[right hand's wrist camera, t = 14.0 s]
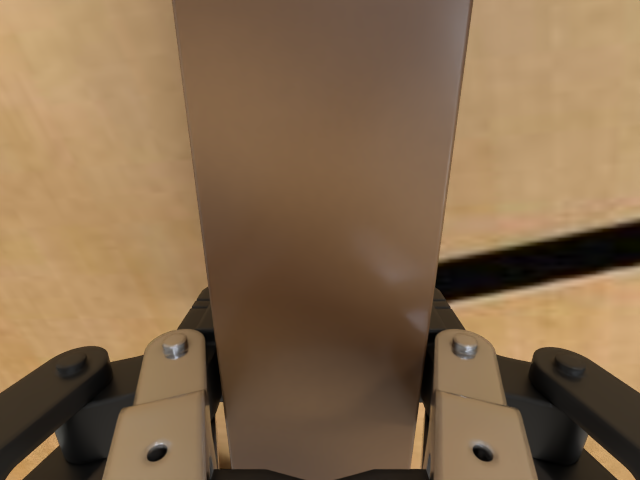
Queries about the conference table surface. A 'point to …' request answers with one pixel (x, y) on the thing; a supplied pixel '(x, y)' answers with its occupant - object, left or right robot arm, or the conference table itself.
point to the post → (321, 216)
